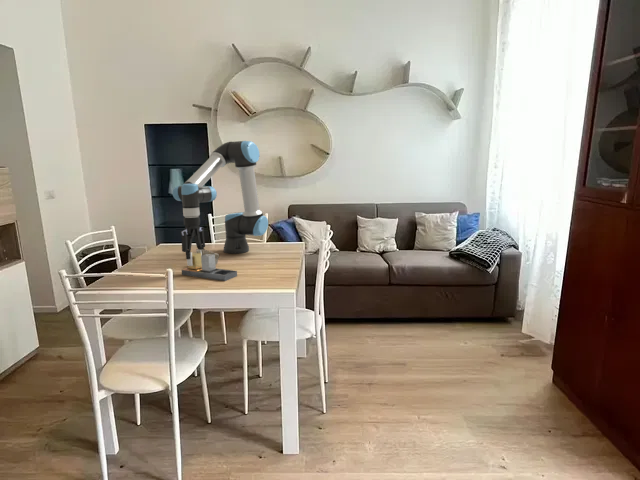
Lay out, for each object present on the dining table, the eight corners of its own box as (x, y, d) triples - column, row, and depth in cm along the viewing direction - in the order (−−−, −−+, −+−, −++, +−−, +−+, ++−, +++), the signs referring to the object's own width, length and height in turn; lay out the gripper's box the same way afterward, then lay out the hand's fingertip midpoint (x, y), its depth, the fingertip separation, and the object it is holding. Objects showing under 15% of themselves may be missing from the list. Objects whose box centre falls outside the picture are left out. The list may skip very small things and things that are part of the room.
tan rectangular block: (195, 272, 207) (194, 252, 206) (202, 273, 205) (201, 253, 204) (188, 274, 203) (187, 254, 202) (196, 275, 202) (194, 254, 200)
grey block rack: (195, 270, 210) (194, 265, 210) (237, 276, 199) (236, 270, 199) (181, 274, 202) (181, 269, 202) (225, 281, 191) (224, 275, 191)
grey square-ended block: (208, 273, 204) (207, 253, 202) (216, 274, 202) (214, 254, 200) (202, 276, 200) (201, 255, 198) (209, 277, 198) (208, 256, 196)
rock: (190, 265, 215) (195, 247, 215) (192, 264, 221) (198, 246, 221) (213, 272, 216) (219, 253, 216) (215, 271, 223) (220, 252, 223)
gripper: (199, 213, 209) (202, 259, 213) (170, 218, 193) (174, 267, 197) (211, 214, 206) (214, 260, 210) (183, 219, 189) (186, 269, 194)
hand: (194, 263), depth 204 cm, fingers open, 6 cm apart
